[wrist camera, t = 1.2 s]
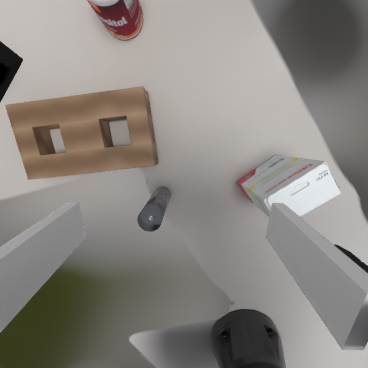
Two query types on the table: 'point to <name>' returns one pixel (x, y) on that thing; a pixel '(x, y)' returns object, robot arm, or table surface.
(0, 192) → the table surface
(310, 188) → the ink box
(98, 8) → the pill bottle
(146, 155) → the socket block
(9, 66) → the black stepped mount
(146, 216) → the pin
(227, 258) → the table surface
